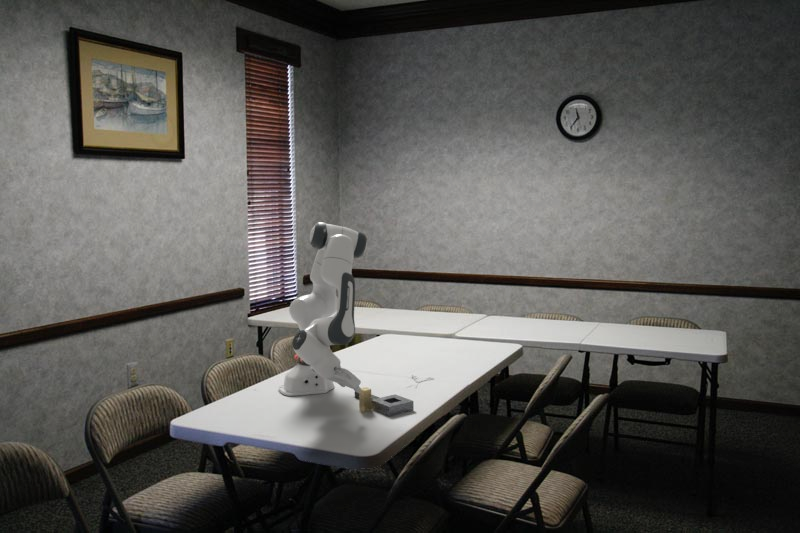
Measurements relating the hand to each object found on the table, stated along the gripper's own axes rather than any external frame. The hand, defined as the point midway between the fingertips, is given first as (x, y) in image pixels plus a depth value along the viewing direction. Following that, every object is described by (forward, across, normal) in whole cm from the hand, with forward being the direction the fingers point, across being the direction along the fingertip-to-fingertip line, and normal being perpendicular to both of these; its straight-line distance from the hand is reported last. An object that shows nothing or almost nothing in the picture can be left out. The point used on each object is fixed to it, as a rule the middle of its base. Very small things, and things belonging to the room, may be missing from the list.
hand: (351, 388), depth 249 cm
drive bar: (+11, 0, +3) cm, 11 cm away
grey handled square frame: (+16, +3, -3) cm, 17 cm away
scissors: (+38, +18, -24) cm, 49 cm away
